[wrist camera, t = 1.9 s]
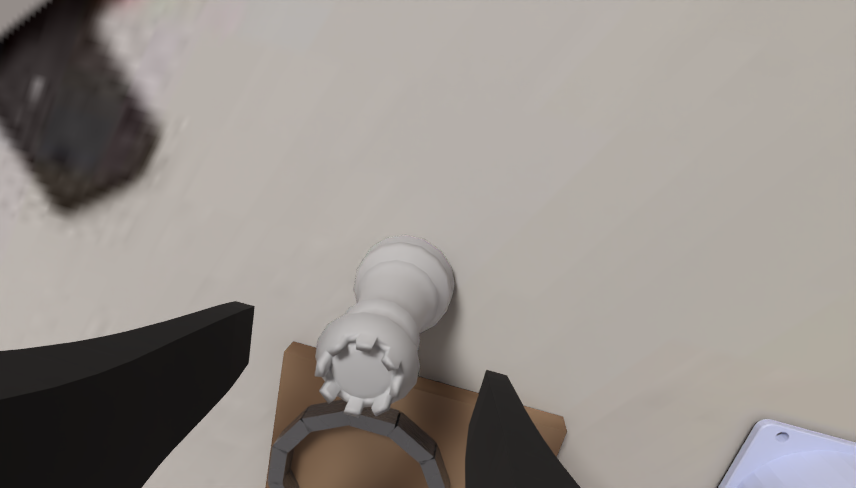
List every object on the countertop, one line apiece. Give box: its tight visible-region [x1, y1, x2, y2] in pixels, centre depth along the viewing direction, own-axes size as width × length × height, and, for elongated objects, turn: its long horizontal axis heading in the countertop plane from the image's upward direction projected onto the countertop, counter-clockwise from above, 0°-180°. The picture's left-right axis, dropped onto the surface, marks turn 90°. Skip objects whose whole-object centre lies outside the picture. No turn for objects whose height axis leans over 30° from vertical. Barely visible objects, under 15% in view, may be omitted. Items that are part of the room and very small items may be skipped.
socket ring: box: [268, 399, 450, 488], centre depth 21 cm, size 9×9×1 cm
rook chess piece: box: [315, 235, 455, 418], centre depth 15 cm, size 4×4×8 cm
